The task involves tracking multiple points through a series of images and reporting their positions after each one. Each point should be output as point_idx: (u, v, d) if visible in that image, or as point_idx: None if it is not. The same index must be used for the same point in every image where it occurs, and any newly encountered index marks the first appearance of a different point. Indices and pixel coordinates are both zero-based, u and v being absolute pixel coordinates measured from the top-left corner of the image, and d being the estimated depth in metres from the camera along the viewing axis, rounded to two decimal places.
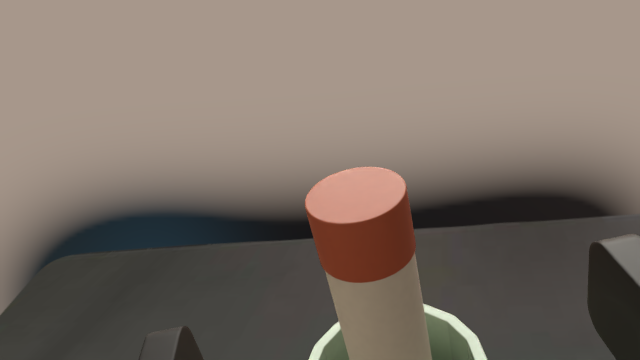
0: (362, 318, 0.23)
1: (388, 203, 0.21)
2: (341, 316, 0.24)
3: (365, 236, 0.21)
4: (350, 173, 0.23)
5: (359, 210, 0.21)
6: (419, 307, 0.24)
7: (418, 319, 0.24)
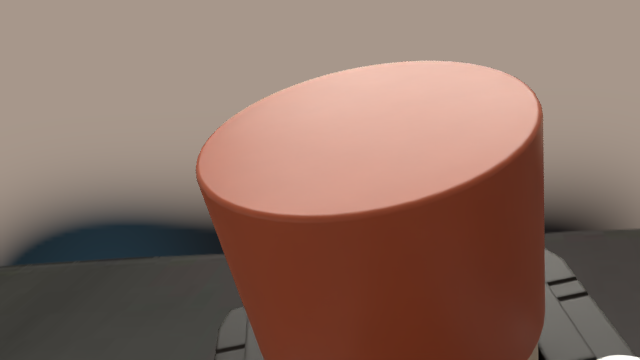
0: None
1: (488, 142, 0.06)
2: None
3: (402, 269, 0.05)
4: (347, 78, 0.08)
5: (378, 170, 0.06)
6: None
7: None
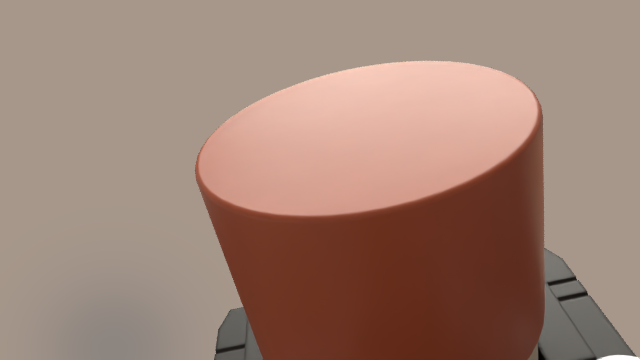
0: None
1: (488, 143, 0.06)
2: None
3: (401, 270, 0.05)
4: (347, 78, 0.08)
5: (379, 170, 0.06)
6: None
7: None
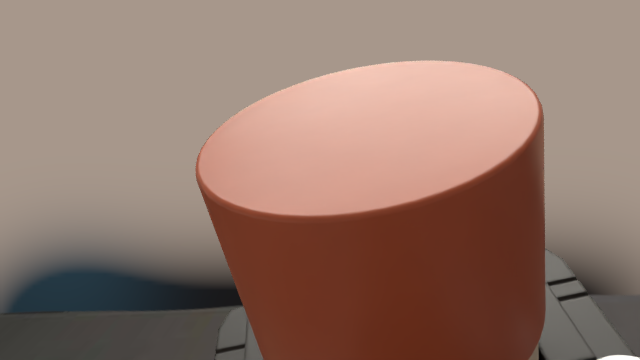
0: None
1: (488, 142, 0.06)
2: None
3: (402, 269, 0.05)
4: (347, 78, 0.08)
5: (379, 171, 0.06)
6: None
7: None
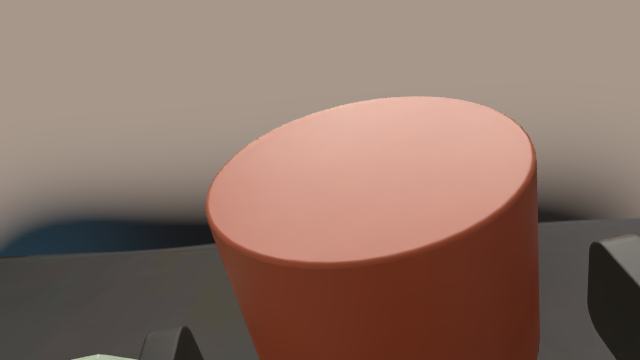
0: None
1: (483, 189, 0.06)
2: None
3: (401, 312, 0.06)
4: (350, 113, 0.08)
5: (381, 216, 0.06)
6: None
7: None
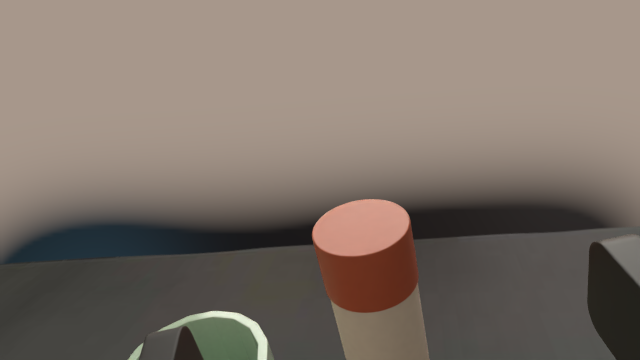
0: (365, 346, 0.24)
1: (392, 236, 0.22)
2: (345, 343, 0.25)
3: (370, 269, 0.21)
4: (356, 205, 0.24)
5: (365, 243, 0.22)
6: (421, 336, 0.25)
7: (420, 348, 0.25)
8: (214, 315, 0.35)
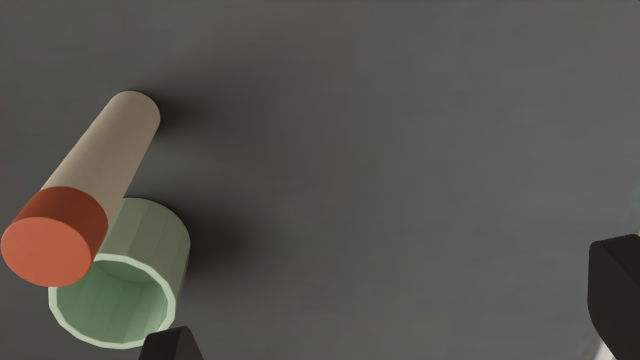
0: (116, 205, 0.31)
1: (61, 228, 0.26)
2: None
3: (92, 236, 0.27)
4: (14, 260, 0.26)
5: (72, 247, 0.26)
6: (90, 163, 0.31)
7: (97, 161, 0.31)
8: (55, 305, 0.40)
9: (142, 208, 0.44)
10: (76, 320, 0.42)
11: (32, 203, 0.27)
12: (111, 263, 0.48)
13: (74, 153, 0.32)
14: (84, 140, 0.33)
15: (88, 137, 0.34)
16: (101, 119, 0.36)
